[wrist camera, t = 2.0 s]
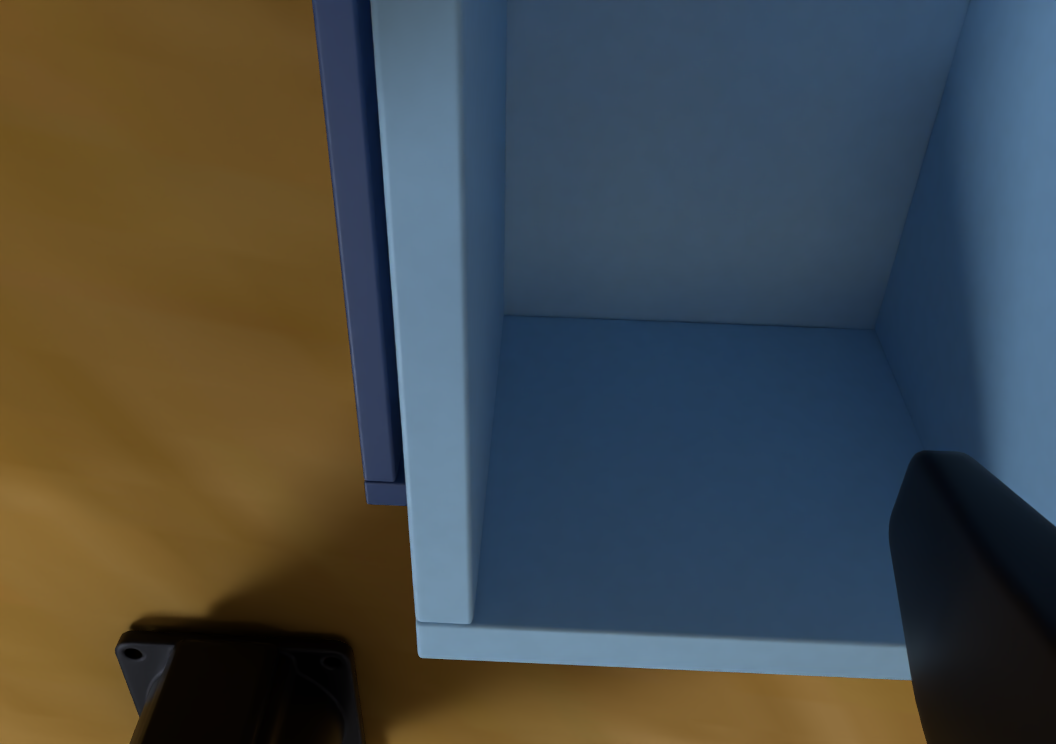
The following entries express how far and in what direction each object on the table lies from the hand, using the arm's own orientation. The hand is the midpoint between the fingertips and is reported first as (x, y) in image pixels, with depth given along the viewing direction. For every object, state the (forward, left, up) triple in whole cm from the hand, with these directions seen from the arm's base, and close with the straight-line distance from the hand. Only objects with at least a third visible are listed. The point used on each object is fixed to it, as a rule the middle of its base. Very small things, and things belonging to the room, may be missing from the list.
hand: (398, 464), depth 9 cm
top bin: (0, -4, -10) cm, 11 cm away
